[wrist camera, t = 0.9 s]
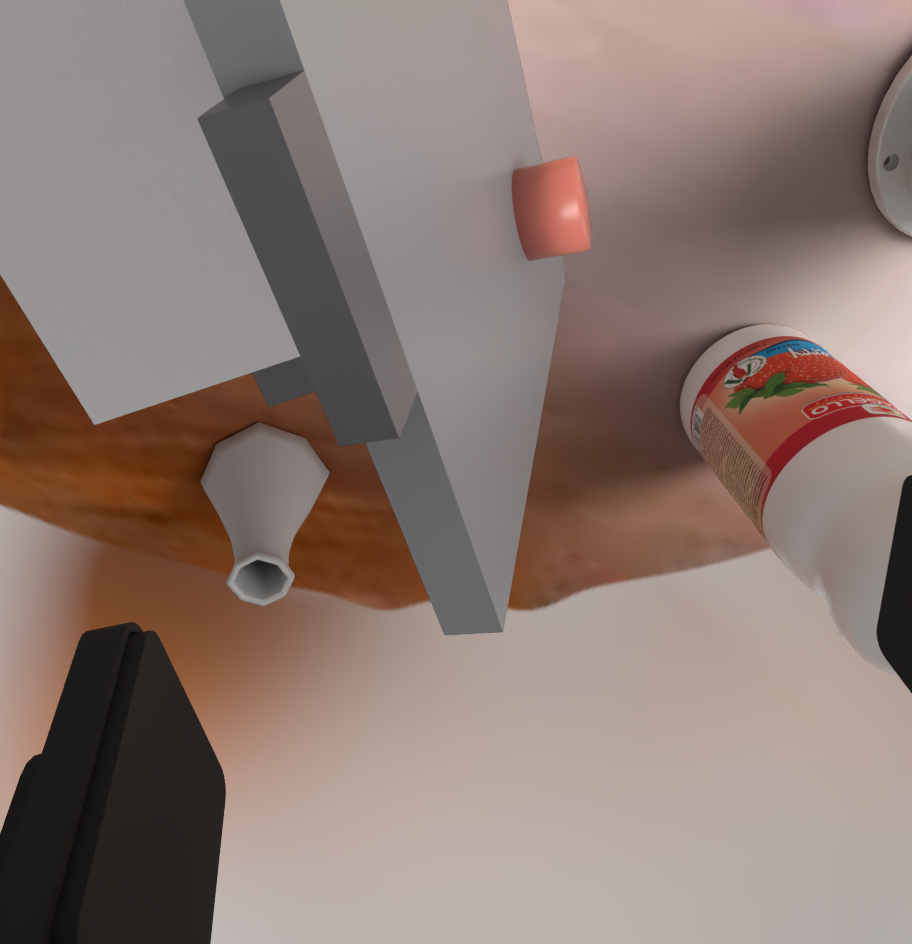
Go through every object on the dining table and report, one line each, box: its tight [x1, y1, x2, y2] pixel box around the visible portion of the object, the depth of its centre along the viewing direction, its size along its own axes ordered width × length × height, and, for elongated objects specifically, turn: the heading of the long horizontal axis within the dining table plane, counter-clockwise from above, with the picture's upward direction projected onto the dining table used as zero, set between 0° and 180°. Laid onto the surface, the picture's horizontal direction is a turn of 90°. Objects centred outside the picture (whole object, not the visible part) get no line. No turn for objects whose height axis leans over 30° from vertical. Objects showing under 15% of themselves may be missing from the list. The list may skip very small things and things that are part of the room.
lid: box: [184, 0, 591, 635], centre depth 22 cm, size 22×20×4 cm
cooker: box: [0, 0, 315, 425], centre depth 35 cm, size 20×25×10 cm
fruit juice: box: [680, 324, 912, 678], centre depth 42 cm, size 9×9×28 cm
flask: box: [200, 422, 330, 606], centre depth 47 cm, size 7×7×10 cm
